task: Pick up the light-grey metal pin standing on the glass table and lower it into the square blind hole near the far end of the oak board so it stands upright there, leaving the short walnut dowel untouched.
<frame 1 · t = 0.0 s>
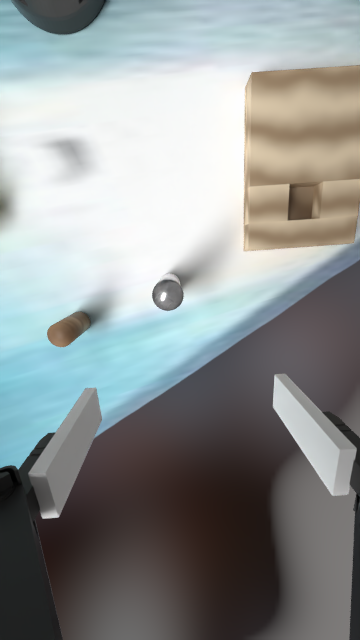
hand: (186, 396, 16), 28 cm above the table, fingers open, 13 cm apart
walnut dowel: (80, 321, 43), on the table
pin: (169, 284, 42), on the table
board: (297, 173, 37), on the table
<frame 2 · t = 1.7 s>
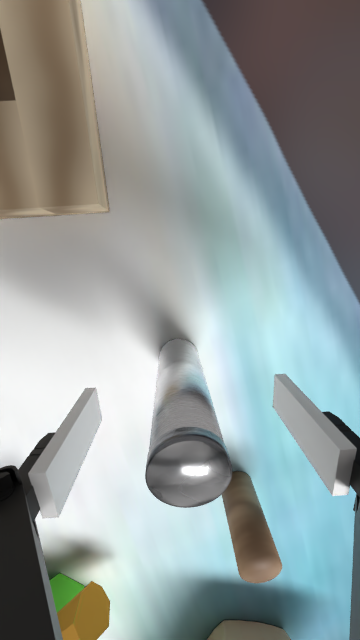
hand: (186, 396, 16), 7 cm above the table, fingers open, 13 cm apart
decorative tree: (34, 602, 33), on the table
walnut dowel: (235, 483, 28), on the table
pin: (178, 356, 23), on the table
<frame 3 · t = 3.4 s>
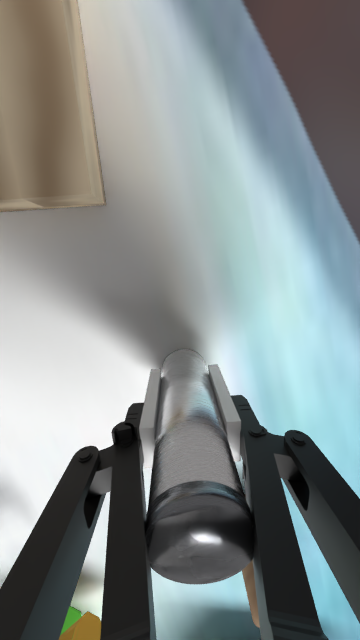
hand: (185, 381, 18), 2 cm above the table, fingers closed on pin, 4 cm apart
decorative tree: (27, 628, 31), on the table
walnut dowel: (246, 507, 25), on the table
pin: (184, 369, 20), on the table, touching gripper
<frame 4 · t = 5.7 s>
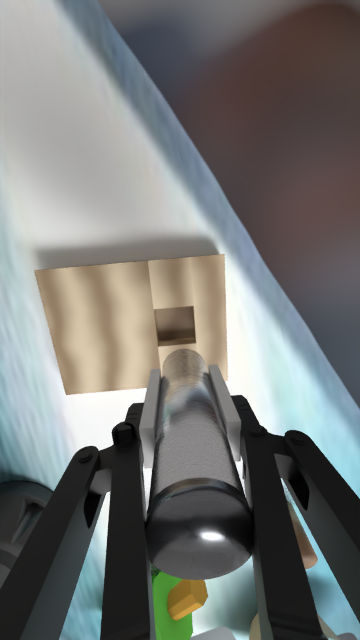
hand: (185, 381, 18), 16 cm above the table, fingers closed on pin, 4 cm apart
decorative tree: (145, 584, 50), on the table
walnut dowel: (282, 508, 44), on the table
bowl: (279, 614, 54), on the table
pin: (184, 368, 20), point 14 cm above the table, touching gripper
board: (141, 323, 33), on the table
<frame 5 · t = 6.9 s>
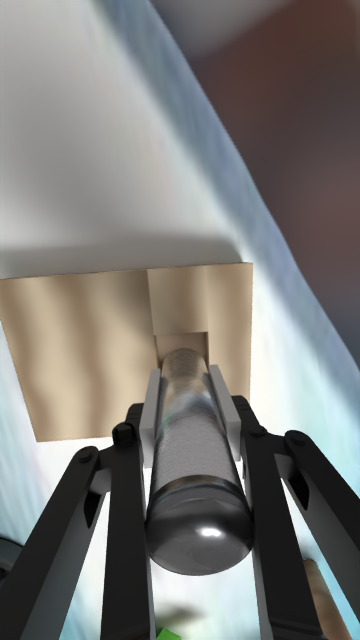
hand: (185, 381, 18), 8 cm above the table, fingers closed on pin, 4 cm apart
walnut dowel: (305, 567, 37), on the table
pin: (184, 367, 21), point 5 cm above the table, touching gripper
board: (138, 350, 25), on the table
when the fingers open (5 cm above the table, at t = 8.1 s): pin drops 1 cm, resting on board.
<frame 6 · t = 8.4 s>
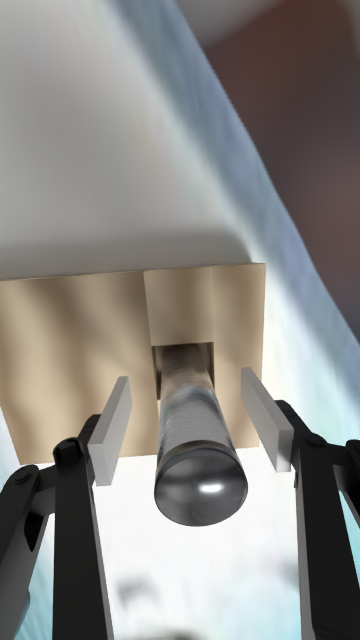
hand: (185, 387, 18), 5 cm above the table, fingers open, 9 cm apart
pin: (182, 360, 22), point 1 cm above the table, touching board
board: (134, 360, 23), on the table
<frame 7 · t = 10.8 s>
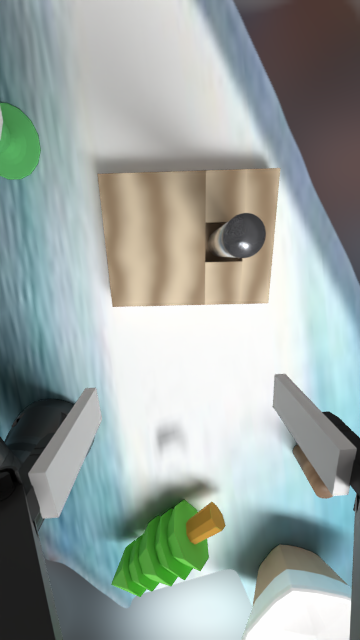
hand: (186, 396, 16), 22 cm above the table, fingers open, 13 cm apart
decorative tree: (162, 518, 52), on the table
walnut dowel: (302, 450, 46), on the table
bowl: (287, 561, 56), on the table
pin: (221, 243, 34), point 1 cm above the table, touching board
cup: (9, 143, 31), on the table
board: (188, 244, 35), on the table
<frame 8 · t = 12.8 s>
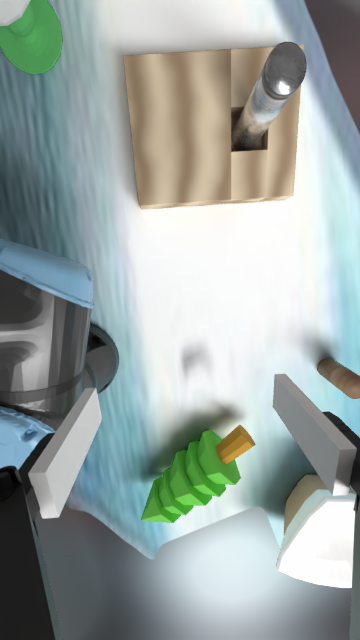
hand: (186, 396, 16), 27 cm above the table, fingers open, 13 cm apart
decorative tree: (188, 453, 51), on the table
walnut dowel: (326, 367, 46), on the table
bowl: (313, 494, 56), on the table
pin: (244, 137, 34), point 1 cm above the table, touching board
cup: (30, 35, 31), on the table
board: (211, 141, 35), on the table
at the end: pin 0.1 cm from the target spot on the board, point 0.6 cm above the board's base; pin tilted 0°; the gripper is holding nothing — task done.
